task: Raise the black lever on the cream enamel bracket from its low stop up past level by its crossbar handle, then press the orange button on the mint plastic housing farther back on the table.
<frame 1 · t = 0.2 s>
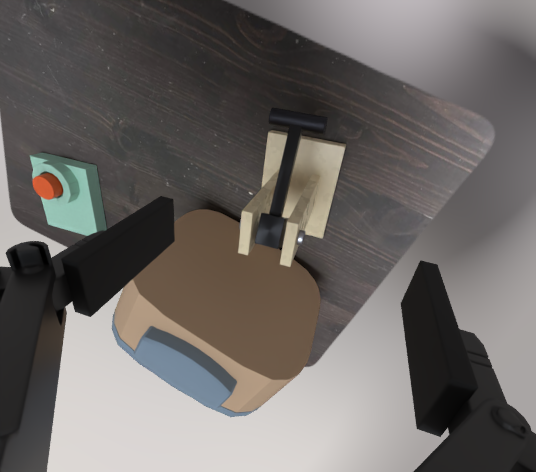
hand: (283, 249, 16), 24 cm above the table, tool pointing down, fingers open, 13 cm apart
bracket: (299, 184, 40), on the table
button: (48, 186, 46), point 4 cm above the table, slide at 0.1 cm
lever: (283, 180, 28), point 11 cm above the table, hinge at -25.0°
alarm clock: (252, 256, 47), on the table
button box: (76, 194, 51), on the table
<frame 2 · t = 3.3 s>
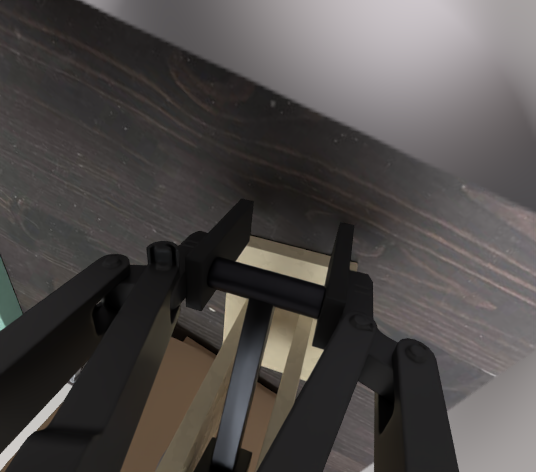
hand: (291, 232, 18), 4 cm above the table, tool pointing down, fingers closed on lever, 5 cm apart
bracket: (283, 307, 26), on the table
lever: (239, 398, 14), point 11 cm above the table, hinge at -25.0°, touching gripper
alarm clock: (220, 382, 33), on the table
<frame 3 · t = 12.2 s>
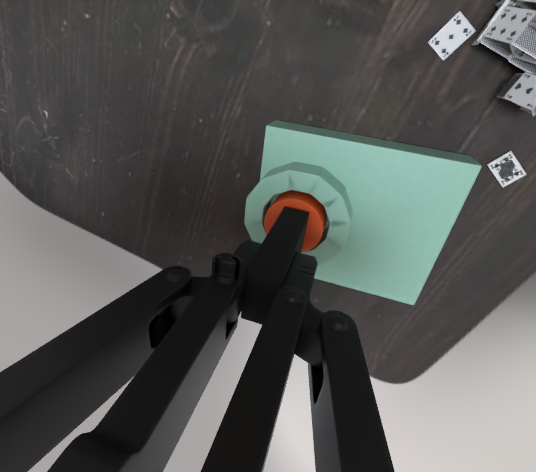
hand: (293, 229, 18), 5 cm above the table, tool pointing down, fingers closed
button: (295, 221, 19), point 4 cm above the table, slide at -0.7 cm, touching gripper
button box: (347, 208, 22), on the table
house of cards: (504, 80, 16), on the table
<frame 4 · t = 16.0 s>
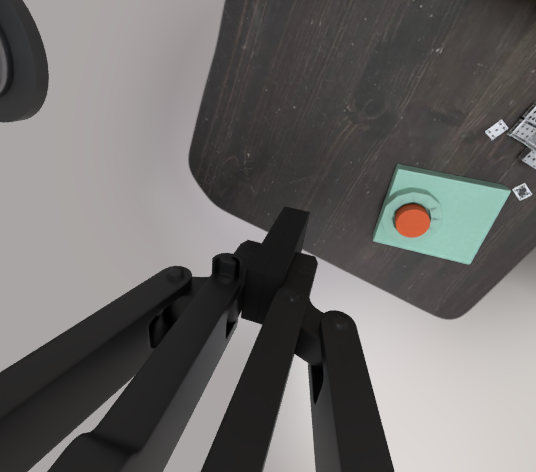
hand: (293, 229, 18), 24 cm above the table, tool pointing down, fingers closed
button: (411, 220, 36), point 4 cm above the table, slide at 0.1 cm
button box: (432, 211, 39), on the table
house of cards: (521, 149, 34), on the table
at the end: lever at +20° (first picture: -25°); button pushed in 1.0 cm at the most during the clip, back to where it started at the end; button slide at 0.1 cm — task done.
